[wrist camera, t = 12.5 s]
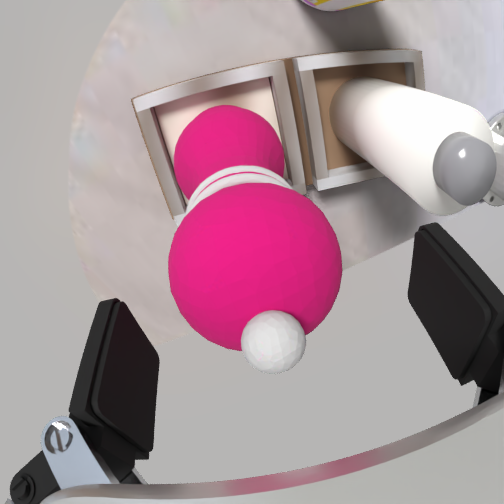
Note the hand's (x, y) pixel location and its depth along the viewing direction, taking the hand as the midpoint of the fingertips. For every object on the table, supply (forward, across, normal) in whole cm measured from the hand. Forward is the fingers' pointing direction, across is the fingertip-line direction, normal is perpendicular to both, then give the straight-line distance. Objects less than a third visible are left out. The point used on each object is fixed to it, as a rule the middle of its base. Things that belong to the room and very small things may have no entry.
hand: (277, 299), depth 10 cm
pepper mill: (+18, +1, 0) cm, 18 cm away
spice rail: (+20, -5, 0) cm, 20 cm away
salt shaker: (+18, -11, 0) cm, 21 cm away
